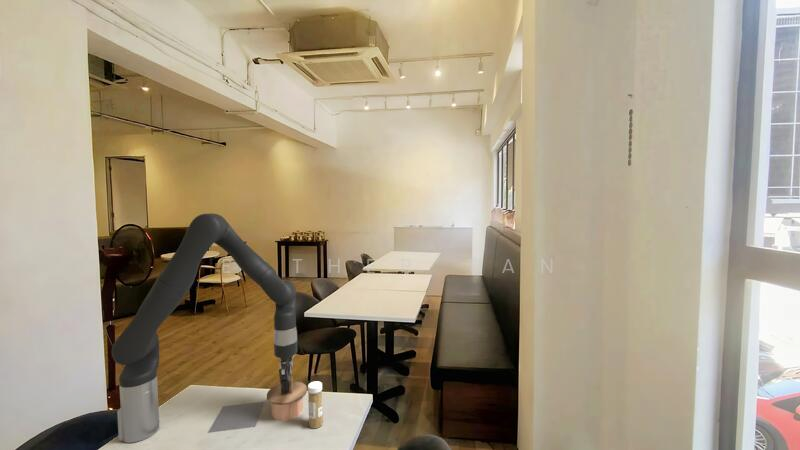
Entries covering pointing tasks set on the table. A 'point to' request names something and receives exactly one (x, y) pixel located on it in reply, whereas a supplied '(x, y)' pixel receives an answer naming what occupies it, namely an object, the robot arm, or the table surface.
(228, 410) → the charcoal mat
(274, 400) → the walnut lid
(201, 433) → the table surface
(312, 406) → the sprinkles bottle
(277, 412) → the terracotta bowl
